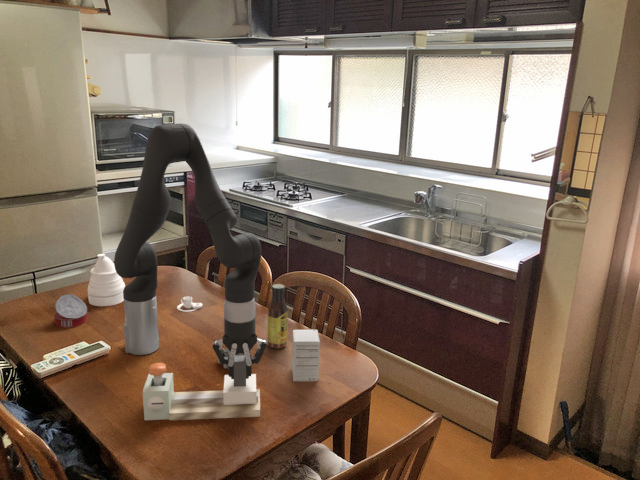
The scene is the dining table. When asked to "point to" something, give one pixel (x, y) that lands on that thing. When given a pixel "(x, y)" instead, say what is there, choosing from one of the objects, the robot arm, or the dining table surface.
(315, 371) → the supplement box
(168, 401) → the cabinet
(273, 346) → the sauce bottle
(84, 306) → the canned food
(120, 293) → the honey pot
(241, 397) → the carriage
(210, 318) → the dining table surface
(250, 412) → the rail board
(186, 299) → the teacup and saucer
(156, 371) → the plunger
